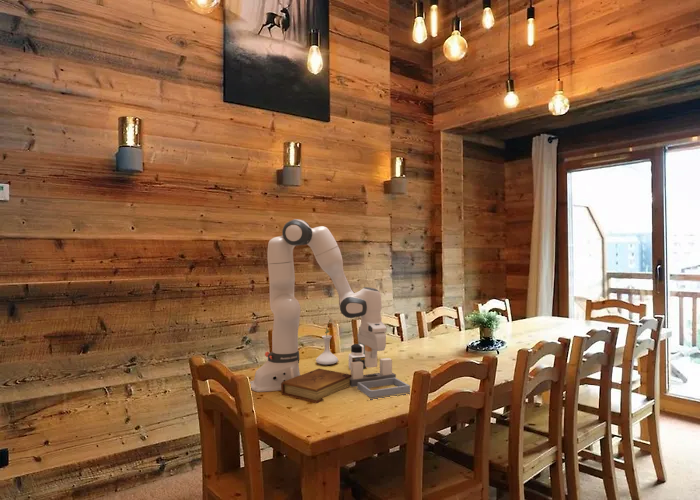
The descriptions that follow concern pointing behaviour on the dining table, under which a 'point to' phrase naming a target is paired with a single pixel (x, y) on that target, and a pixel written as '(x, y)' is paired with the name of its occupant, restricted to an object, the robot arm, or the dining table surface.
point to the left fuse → (357, 370)
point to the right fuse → (385, 366)
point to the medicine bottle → (357, 355)
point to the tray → (383, 392)
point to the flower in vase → (327, 349)
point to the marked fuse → (368, 360)
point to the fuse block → (370, 378)
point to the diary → (315, 385)
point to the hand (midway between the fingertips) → (370, 356)
